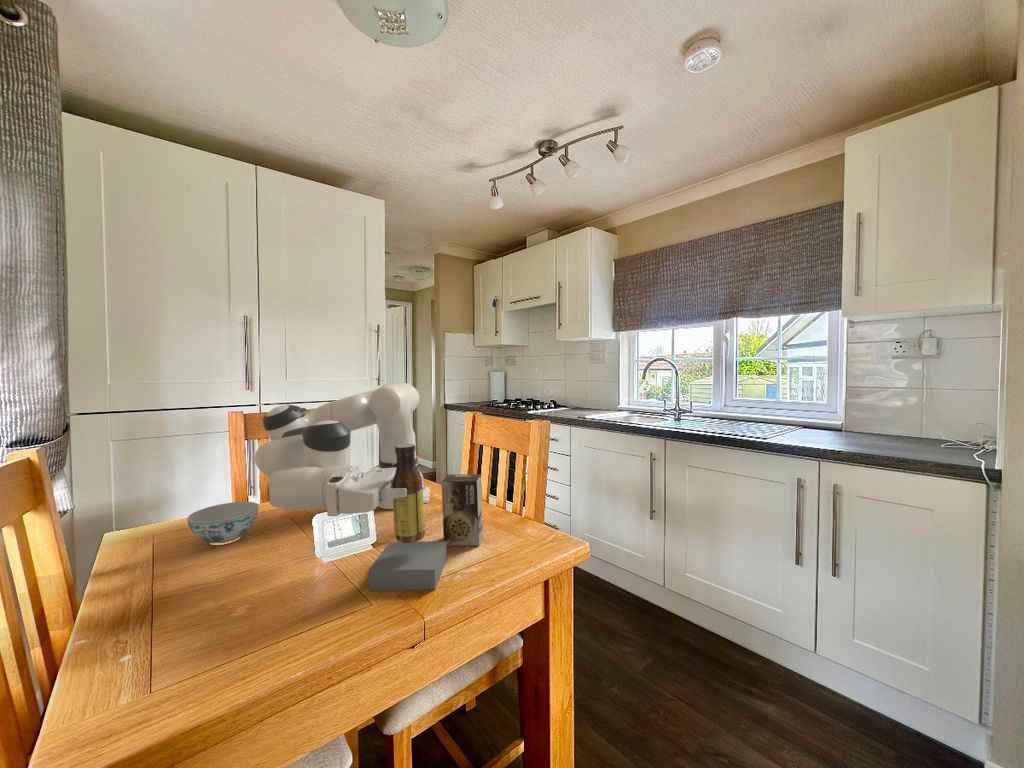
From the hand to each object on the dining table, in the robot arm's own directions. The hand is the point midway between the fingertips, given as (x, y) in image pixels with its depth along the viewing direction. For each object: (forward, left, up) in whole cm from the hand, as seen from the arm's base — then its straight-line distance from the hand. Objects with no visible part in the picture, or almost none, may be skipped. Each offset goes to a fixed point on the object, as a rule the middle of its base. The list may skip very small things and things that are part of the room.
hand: (412, 486), depth 84 cm
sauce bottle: (0, -1, -11) cm, 11 cm away
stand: (0, -1, -18) cm, 19 cm away
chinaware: (-18, -54, -19) cm, 60 cm away
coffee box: (-16, +8, -19) cm, 26 cm away
